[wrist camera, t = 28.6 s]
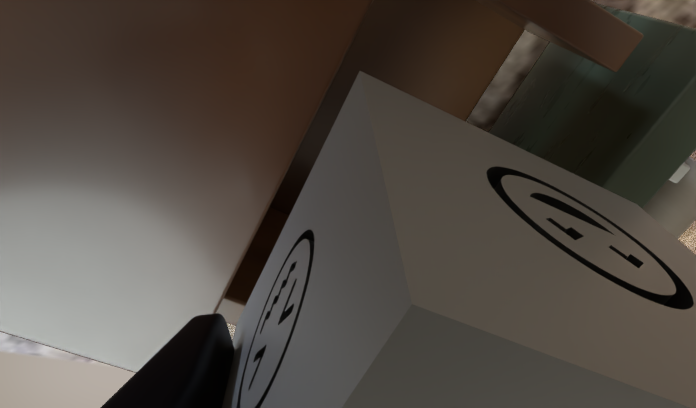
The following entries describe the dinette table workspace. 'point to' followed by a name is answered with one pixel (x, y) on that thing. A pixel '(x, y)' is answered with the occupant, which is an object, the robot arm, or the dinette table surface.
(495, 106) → the dinette table surface
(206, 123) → the cabinet
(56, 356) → the dinette table surface
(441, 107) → the drawer
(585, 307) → the dice cube
